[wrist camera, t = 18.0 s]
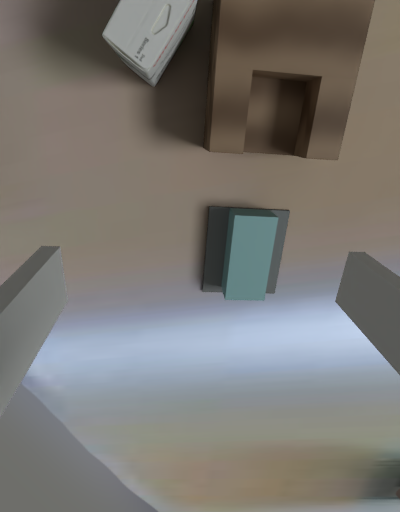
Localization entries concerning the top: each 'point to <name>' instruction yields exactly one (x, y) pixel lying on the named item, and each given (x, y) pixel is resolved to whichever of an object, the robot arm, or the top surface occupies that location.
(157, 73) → the ink box
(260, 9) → the block
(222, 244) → the mat
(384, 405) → the top surface
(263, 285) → the slab
